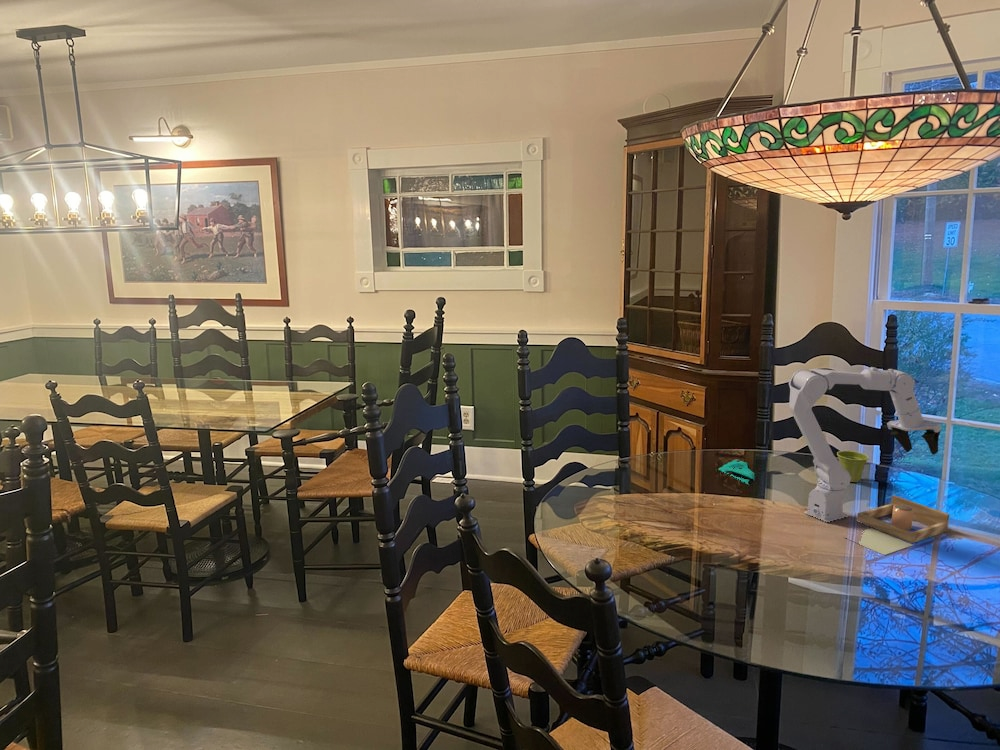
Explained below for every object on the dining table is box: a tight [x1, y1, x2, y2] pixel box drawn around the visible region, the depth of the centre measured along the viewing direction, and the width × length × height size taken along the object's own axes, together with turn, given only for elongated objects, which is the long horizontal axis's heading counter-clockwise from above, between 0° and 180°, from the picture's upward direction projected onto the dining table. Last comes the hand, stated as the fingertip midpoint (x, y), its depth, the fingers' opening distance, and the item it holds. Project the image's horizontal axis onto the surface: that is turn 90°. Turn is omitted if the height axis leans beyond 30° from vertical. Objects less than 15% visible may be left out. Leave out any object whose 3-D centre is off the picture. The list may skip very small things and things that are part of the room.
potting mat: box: [858, 527, 914, 556], centre depth 185 cm, size 12×12×1 cm
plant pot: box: [836, 450, 869, 483], centre depth 230 cm, size 9×9×9 cm
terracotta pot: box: [890, 505, 914, 531], centre depth 194 cm, size 5×5×6 cm
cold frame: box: [856, 494, 951, 544], centre depth 194 cm, size 16×16×5 cm
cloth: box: [718, 459, 756, 486], centre depth 240 cm, size 26×14×2 cm, turn 158°
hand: (922, 451), depth 199 cm, fingers open, 7 cm apart
